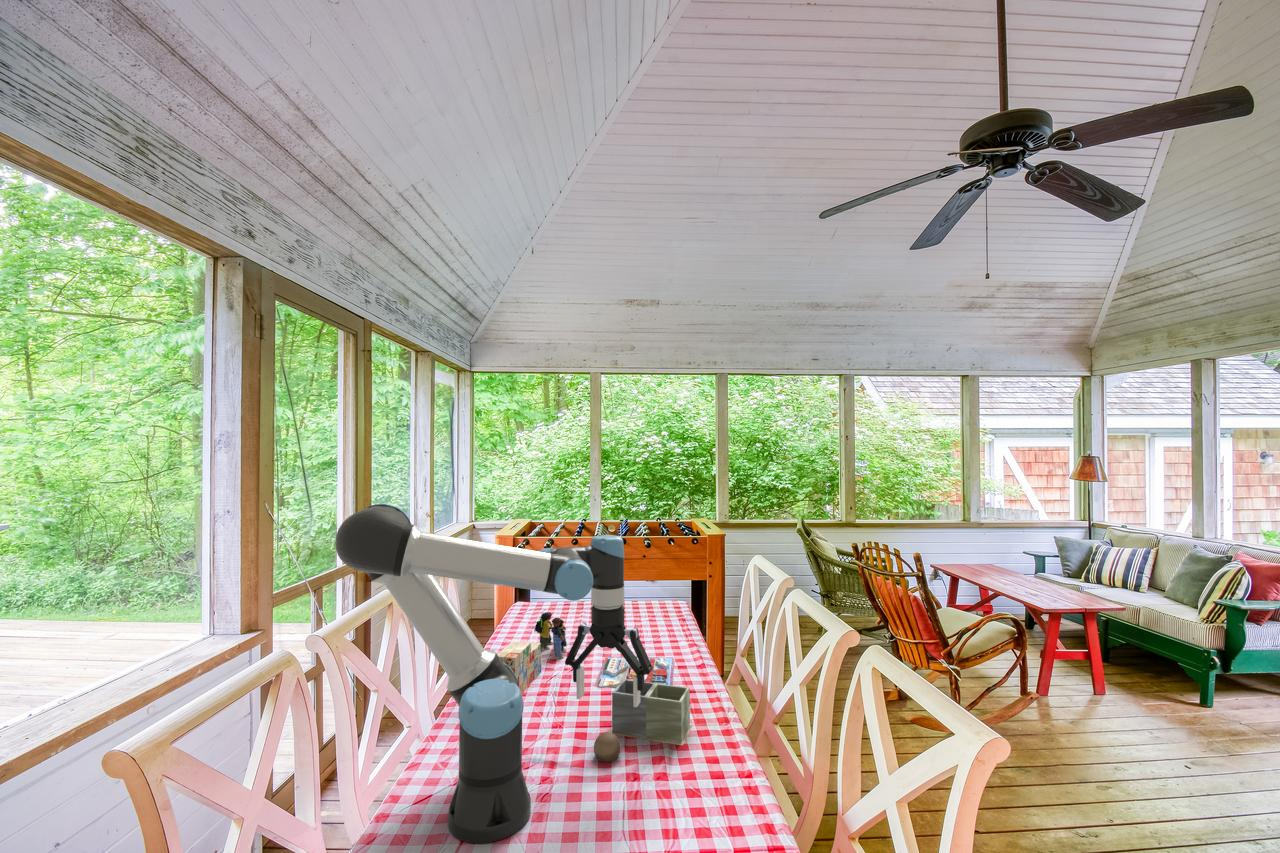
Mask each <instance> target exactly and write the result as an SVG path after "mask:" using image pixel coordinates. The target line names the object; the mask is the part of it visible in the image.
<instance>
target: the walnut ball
mask: <svg viewBox="0 0 1280 853" xmlns="http://www.w3.org/2000/svg"><path fill="white" fill-rule="evenodd" d="M621 748H622V747H621V742H620V740H619V737H618V735H615V734H613V733H610V731H608V732H607V731H606V732H603V733H601V734H599V735H598V736H597V738H595V741H594V744H593V752H594V756H595V758H597V760H598V761H600V762H602V763H610V762H614V761H615V760H616V759H618V757H619V755H620V753H621Z"/></svg>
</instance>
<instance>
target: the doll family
mask: <svg viewBox="0 0 1280 853" xmlns="http://www.w3.org/2000/svg"><path fill="white" fill-rule="evenodd" d="M552 616H553V615H552V612H548V611H546V612H542V614H541V616H540V618H539V620H537V621H534V620H533V621H534V622H533V623H536V624H535V625H534V626H533V627H532V628H531V629H533V632H536V633H537V634H539V643H541V651H548V650H550V649H551V648H550V647H549V646H553V650H554V651H553V652H554V654H553V658H555V659H556V660H561V659H562V660H564V659H565V656H564V655H563V654H565V653H568V652H567V651H568V650H567V649H566V647H567V640H566V635H567V633H566V630H567V628H569V626H565V625H564V620H563V619H561V618H560V617H555V618H553V619H552ZM551 619H552V620H551ZM550 620H551V621H550ZM550 632H551V633H552V635H551V634H550Z"/></svg>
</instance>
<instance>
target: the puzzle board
mask: <svg viewBox="0 0 1280 853" xmlns="http://www.w3.org/2000/svg"><path fill="white" fill-rule="evenodd" d="M634 655H635V656H636V658H637V659H638V657H637V655H636V654H634ZM648 658H649V661H650V663H651V665H652V667H653V669H652V671H651V672H650V673H649V674H648V675H644V682H651V683H659V684H666V685H673V680H674V668H675V666H674V665H675V658H674V657H672V656H671V657H665V656H663V657H660V656H654V657H653V656H648ZM638 660H639V659H638ZM635 674H636V673H635V672H634V671H633V669H632V668H631V666H630V665H629V664H628V662H627V661H626V660H625V658H624V657H623V656H606V657H605V658H604V661H603V662H602V665H601V669H600V671H599V673H598V676H597V679H596V681H595V684H594V686H595V687H598V688H600V689H602V688H609V689H614V690H615V689H616V688H617V686H618V685H619V684H620V683H621V682H622V681H623V680H624V679H628V680H633V676H634V675H635Z"/></svg>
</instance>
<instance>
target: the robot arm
mask: <svg viewBox="0 0 1280 853" xmlns="http://www.w3.org/2000/svg"><path fill="white" fill-rule="evenodd" d="M334 544H335V551H336V553H337V556H338V557H339V559H340V561H341V562H342V563H343V564H345V565H346V566H347V567H349V568H350V569H353V570H355V571H359V572H362V573H366V575H367V576H368V577H369V579H370V580H371V582H372V583H377V584H383V585H385V588H387V590H388V592H389V593H390V594H391V596H392V598H393V599H394V600H395V601H396V603H397V604H398V607H400V609H401V611H402V612H403V613H404V615H405V616H406V617H407V618H408V620H409V622H410V623H411V625H412V626H413V627H414V629H415V630H416V632H417V633H418V634H419V636H420V638H421V639H422V641H423V642H424V644H425V645H426V647H427V648H428V649H429V650H430V652H431V653H432V655H433V656H434V658H435V659H436V661H437V662H438V663H439V665H440V667H441V668H442V669H443V671H444V672H445V674H446V675H447V676H448V680H447V684H446V689H447V691H448V692H449V694H450V696H451V697H452V698H453V700H454V701H455V702H456V704H457V706H458V719H459V735H458V736H459V739H458V741H459V743H458V779H457V783H456V787H455V790H454V792H453V795H452V798H451V801H450V804H449V808H448V812H447V813H448V817H447V826H448V830H449V833H451V835H452V836H454V837H455V838H456V839H457V840H460V841H463V842H465V843H472V844H487V843H493V842H496V841H500V840H504V839H506V838H508V837H510V836H512V835H514V834H516V833H517V832H519V831H520V830H521V829H522V828H524V826H525V825H526V824H527V823H528V821H529V819H530V816H531V813H532V811H531V810H532V809H531V807H532V806H531V805H532V800H531V795H530V792H529V790H528V787H527V786H528V785H527V783H526V779H525V775H524V773H523V769H522V768H523V765H522V764H523V713H524V699H523V693H521V690H520V688H519V685H518V682H517V678H516V676H515V674H514V672H513V671H512V669H511V668H510V667H509V666H508V665H506V664H505V663H503V662H502V661H501V660H500V658H499V657H498V655H497V654H498V653H496V651H495V650H494V649H486V648H484V647H483V645H482V644H481V643H480V641H479V639H478V638H477V637H476V636H475V633H474V632H473V630H472V628H470V627H469V625H468V623H467V621H465V619H464V618H463V616H462V615H461V613H460V612H459V610H458V608H457V607H456V606H455V605H454V603H453V601H452V600H451V599H450V597H449V596H448V594H447V592H446V591H445V589H444V588H443V587H442V585H441V583H440V582H439V581H438V579H437V578H436V577H441V578H446V579H447V578H450V579H455V580H463V581H468V582H475V583H484V584H490V585H497V586H503V587H508V588H509V587H510V588H514V589H515V588H518V589H524V590H529V591H530V590H531V591H538V592H543V593H549V594H556V595H559V596H560V597H562V598H564V599H565V600H567V601H580V600H581V599H584V598H586V597H587V595H588V594H589V593H591V594H590V596H591V597H590V604H591V605H592V606H591V607H590V616H591V617H590V618H591V619H590V622H591V625H588V624H587V622H582V623H581V624H580V625H578V628H577V635H576V638H575V639H574V641H573V644H572V645H571V648H570V650H569V652H568V654H567V657H566V658H565V660H564V663H565V665H566V666H570V667H571V668H572V681H573V683H576V700H581V698H583V697H584V695H585V665H582V663H584V661H585V660H586V658H587V657H588V656H590V654H591V653H592V651H593V650H594V649H595V648H596V647H597V646H598V647H599V648H603V649H605V648H608V649H614V648H615V649H616V651H618V652H619V653H620V655H622V657H624V658H625V660H626V661H627V662H628V664H629V665H630V666H631V668H632V669H633V671H634V672H635V673H636V674H635V675H634V676H633V707H637V706H638V705H639V703H640V691H642V690H643V689H644V675H648V674H649V673H650V672H651V671H652V669H653V667H652V665H651V663H650V661H649V658H648V657H649V656H648V654H647V652H646V649H645V648H644V646H643V643H642V640H641V639H640V634H639V629H638V627H633V628H626V626H625V621H626V620H625V606H624V604H625V558H626V556H625V547H624V546H625V545H624V539H623V538H622V537H620V536H619V535H615V534H601V535H596V536H593V537H592V538H591V539H590V544H589V545H585V546H564V547H563V546H561V547H555V546H552V547H547V548H541V549H539V550H532V549H526V548H520V547H516V546H515V547H513V546H508V545H501V544H496V543H491V542H486V541H478V540H473V539H472V540H471V539H467V538H460V537H456V536H455V537H454V536H449V535H442V534H436V533H430V532H424V531H422V530H420V529H419V527H418V526H417V525H416V524H412V522H411V520H410V517H409V516H408V515H407V514H406V513H405V511H404V510H402V509H401V508H399V507H398V506H395V505H392V504H387V503H384V504H383V503H377V504H372V505H369V506H367V507H365V508H362V509H361V510H360V511H357V512H355V513H353V514H351V515H350V516H348V517H347V518H346V519H345V520H344V521H343V522H342V523H341V525H340V526H339V528H338V530H337V532H336V534H335V538H334ZM589 633H590V635H591V636H592V638H593V639H592V640H591V641H590V643H589V644H588V645H587V646H586V648H585V649H584V650H583V651H582V652H581V654H580V655H579V656H578V657H577V658H576V656H577V655H578V652H579V650H580V648H581V646H582V644H583V642H584V640H585V638H586V635H588V634H589ZM625 636H626V637H627V638H628V640H629V641H630V644H631V646H632V648H633V650H634V652H635V653H634V652H633V651H632V649H631V648H630V647H629V646H628V642H627V641H626V640H625ZM635 655H637V657H638V659H639V660H638V659H637V658H636V656H635Z"/></svg>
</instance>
